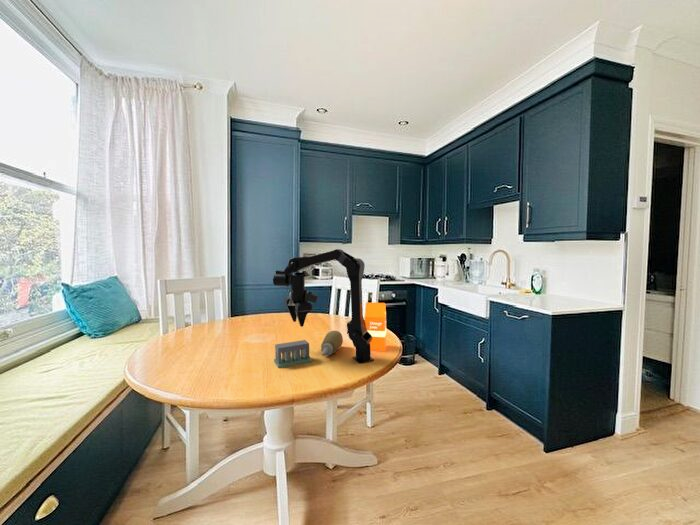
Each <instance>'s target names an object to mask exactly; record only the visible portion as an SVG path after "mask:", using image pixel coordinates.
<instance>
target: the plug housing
mask: <svg viewBox="0 0 700 525" xmlns="http://www.w3.org/2000/svg"><path fill="white" fill-rule="evenodd" d="M301 350H303V356H304V357H305V358H306V359H309V357H310V343H309V342H308V341H307V340H305V339H303V340H302V339H301V340H295V341H289V342H283V343H275V344H274V351H275V352H274V353H275V354H274V355H275V356H274V357H275V358H274V359H275V360H276V361H277V363H278V364H281V358H282V353H285V359H286V360H287V361H288V362H291V356H292V352H291V351H294V357H295V358H296V359H297V360H298V361H299V360H300V355H301Z"/></svg>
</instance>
